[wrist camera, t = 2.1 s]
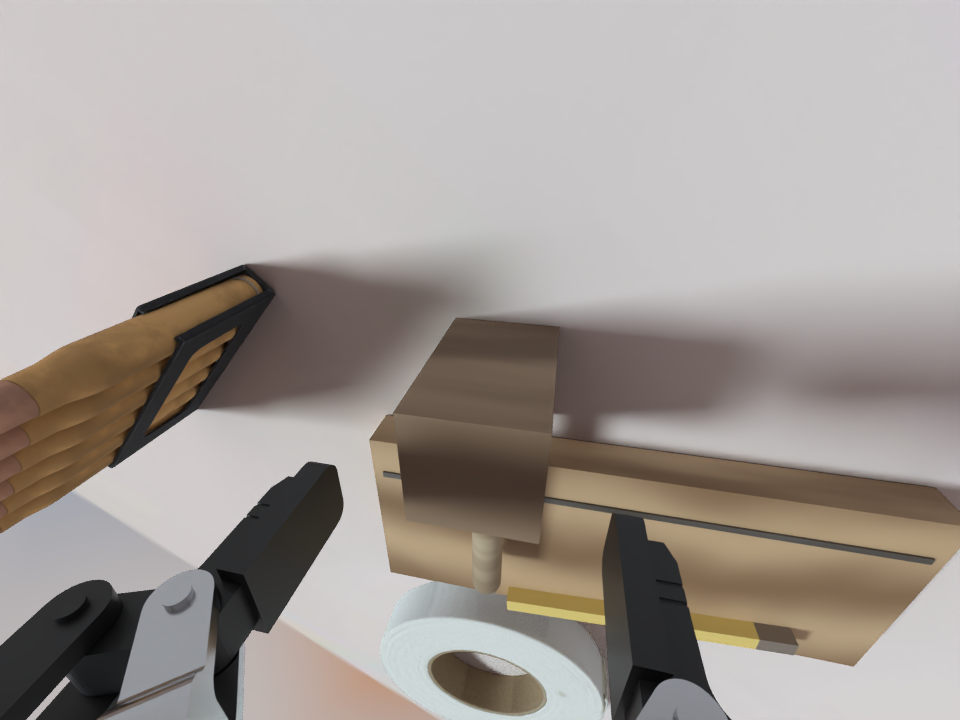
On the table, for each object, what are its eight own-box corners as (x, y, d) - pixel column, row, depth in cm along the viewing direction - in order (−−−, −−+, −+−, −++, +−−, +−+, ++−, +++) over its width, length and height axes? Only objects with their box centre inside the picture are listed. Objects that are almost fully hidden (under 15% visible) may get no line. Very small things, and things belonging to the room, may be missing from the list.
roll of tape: (451, 696, 35) (442, 738, 33) (357, 586, 30) (337, 626, 27) (631, 698, 29) (636, 749, 27) (555, 562, 24) (554, 610, 21)
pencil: (508, 586, 22) (506, 600, 21) (790, 627, 19) (798, 645, 18) (509, 595, 22) (507, 609, 22) (786, 636, 19) (793, 655, 19)
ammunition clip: (244, 262, 18) (-198, 424, 8) (277, 291, 18) (-101, 483, 8) (169, 388, 23) (-159, 590, 13) (196, 409, 23) (-100, 621, 13)
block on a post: (455, 317, 17) (393, 412, 11) (559, 326, 16) (552, 434, 10) (460, 513, 23) (421, 645, 17) (537, 527, 22) (524, 669, 16)
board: (386, 415, 21) (368, 441, 19) (935, 487, 16) (979, 530, 15) (403, 542, 25) (390, 573, 24) (831, 624, 21) (854, 668, 19)
